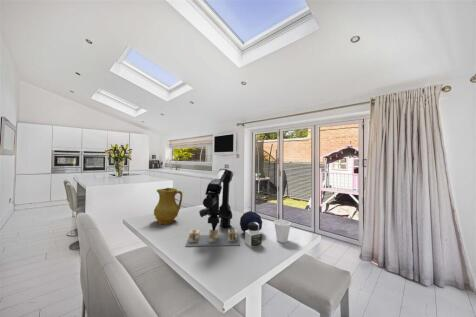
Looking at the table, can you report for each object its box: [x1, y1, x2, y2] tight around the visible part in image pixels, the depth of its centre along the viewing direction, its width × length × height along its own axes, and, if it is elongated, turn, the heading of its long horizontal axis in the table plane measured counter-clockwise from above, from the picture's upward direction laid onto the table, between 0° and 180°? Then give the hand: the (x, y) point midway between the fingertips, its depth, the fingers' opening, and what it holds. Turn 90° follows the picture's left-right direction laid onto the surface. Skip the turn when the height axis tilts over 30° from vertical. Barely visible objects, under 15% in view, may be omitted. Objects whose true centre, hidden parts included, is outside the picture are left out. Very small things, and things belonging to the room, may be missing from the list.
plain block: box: [208, 229, 219, 242], centre depth 112 cm, size 5×5×5 cm
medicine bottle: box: [244, 222, 263, 248], centre depth 109 cm, size 7×7×12 cm
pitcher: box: [153, 187, 183, 225], centre depth 143 cm, size 17×19×25 cm
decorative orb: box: [239, 210, 263, 234], centre depth 124 cm, size 14×15×15 cm
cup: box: [273, 219, 292, 244], centre depth 114 cm, size 10×10×11 cm
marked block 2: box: [227, 228, 238, 241], centre depth 113 cm, size 5×5×5 cm
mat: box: [185, 234, 241, 248], centre depth 112 cm, size 30×14×1 cm, turn 95°
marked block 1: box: [188, 229, 200, 242], centre depth 111 cm, size 5×5×5 cm
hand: (213, 230), depth 112 cm, fingers closed
